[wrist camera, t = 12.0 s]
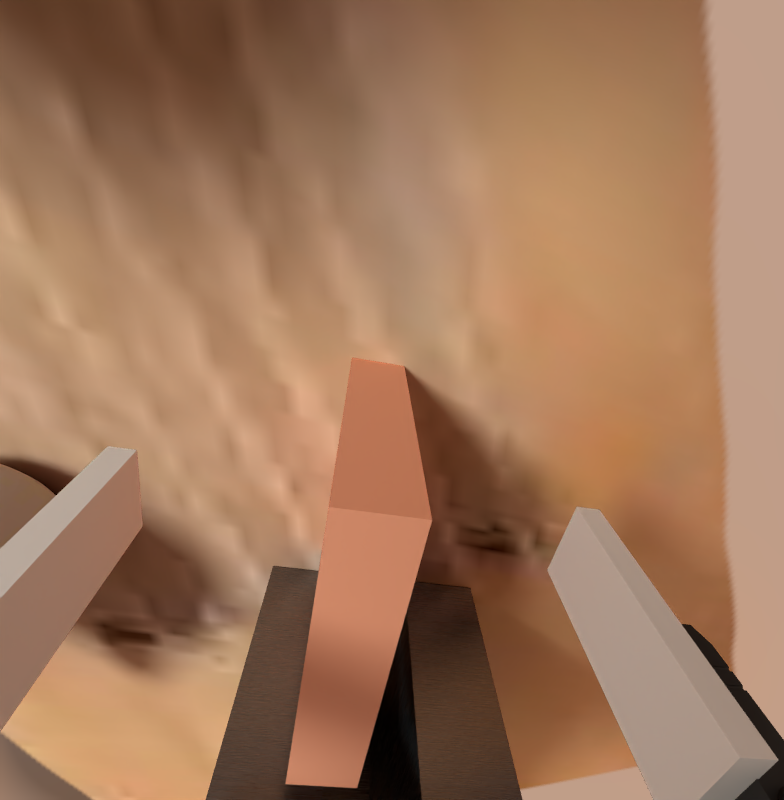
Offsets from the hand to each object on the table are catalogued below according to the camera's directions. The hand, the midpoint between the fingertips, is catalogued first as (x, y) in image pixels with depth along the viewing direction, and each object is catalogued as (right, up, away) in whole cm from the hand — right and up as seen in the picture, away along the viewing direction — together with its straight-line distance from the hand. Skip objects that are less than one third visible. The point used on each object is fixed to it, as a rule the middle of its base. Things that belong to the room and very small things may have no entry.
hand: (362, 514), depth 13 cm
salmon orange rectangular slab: (-1, 0, +10) cm, 10 cm away
